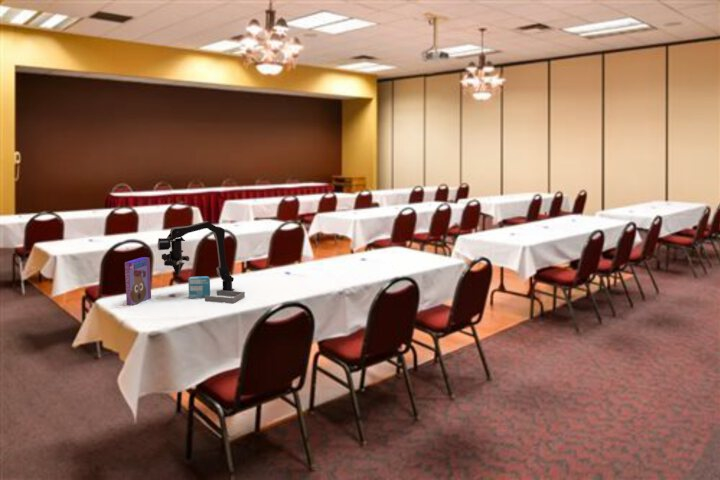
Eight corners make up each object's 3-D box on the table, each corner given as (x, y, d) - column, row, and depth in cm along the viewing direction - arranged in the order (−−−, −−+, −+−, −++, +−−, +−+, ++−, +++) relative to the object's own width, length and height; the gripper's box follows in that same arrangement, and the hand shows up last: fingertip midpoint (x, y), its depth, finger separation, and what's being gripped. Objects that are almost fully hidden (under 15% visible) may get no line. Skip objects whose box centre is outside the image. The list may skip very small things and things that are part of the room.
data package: (189, 298, 352) (188, 278, 350) (188, 297, 356) (188, 277, 354) (210, 297, 355) (209, 277, 353) (209, 295, 359) (209, 275, 358)
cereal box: (134, 305, 336) (132, 262, 332) (126, 304, 337) (124, 262, 333) (151, 297, 353) (149, 257, 349) (143, 297, 354) (142, 256, 350)
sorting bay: (217, 295, 361) (217, 290, 361) (244, 297, 357) (244, 292, 356) (204, 301, 346) (204, 296, 346) (233, 303, 342) (233, 298, 342)
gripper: (172, 245, 366) (173, 271, 368) (155, 250, 348) (156, 277, 350) (189, 246, 363) (190, 272, 365) (172, 251, 345) (173, 278, 347)
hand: (177, 275), depth 357 cm, fingers closed
